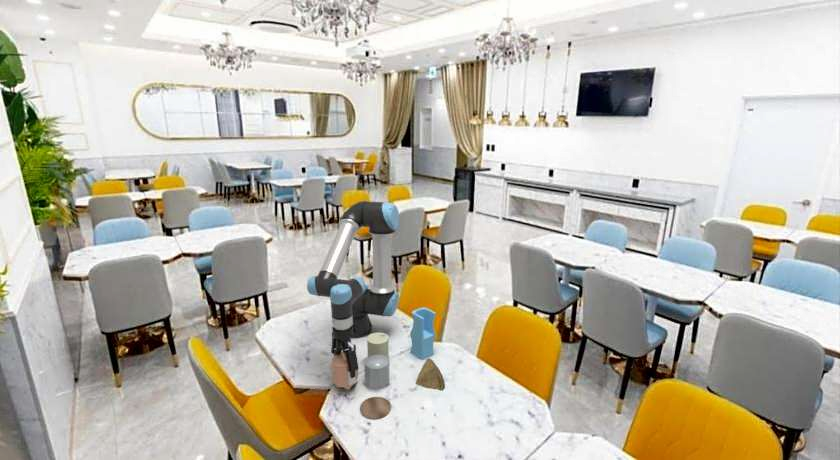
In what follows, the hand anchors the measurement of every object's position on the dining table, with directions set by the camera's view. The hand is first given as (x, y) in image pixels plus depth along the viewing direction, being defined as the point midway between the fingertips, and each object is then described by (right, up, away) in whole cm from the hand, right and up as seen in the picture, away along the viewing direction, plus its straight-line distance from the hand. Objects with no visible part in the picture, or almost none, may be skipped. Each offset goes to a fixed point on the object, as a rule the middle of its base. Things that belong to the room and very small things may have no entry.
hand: (345, 377), depth 153 cm
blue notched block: (+30, +2, +23) cm, 38 cm away
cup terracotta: (0, -1, 0) cm, 1 cm away
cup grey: (+12, -3, +3) cm, 13 cm away
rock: (+33, -4, +1) cm, 34 cm away
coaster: (+13, -7, -12) cm, 19 cm away
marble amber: (+1, -4, -1) cm, 4 cm away
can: (+11, 0, +16) cm, 19 cm away
